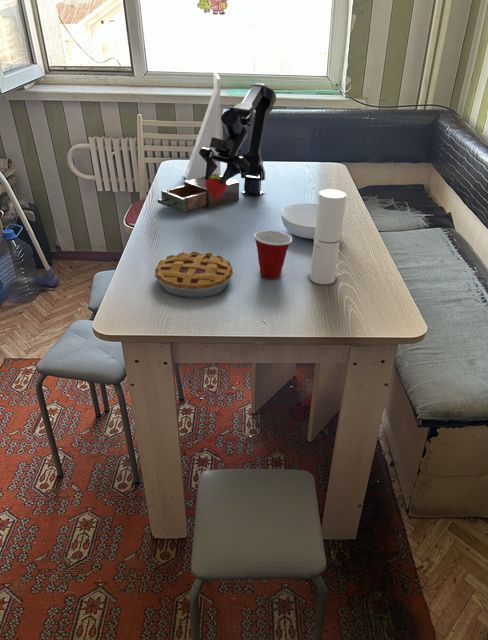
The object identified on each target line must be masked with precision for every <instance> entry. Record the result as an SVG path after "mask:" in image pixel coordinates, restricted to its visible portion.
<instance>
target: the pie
mask: <svg viewBox="0 0 488 640" xmlns="http://www.w3.org/2000/svg"><path fill="white" fill-rule="evenodd" d="M233 269H234V268H233V266H232V265H231V262H230V261H229V260H226V259H225V258H224V257H223V256H222V255H220V254H218V255H214V254H213V252H206V253H201V252H198V251H192V252H190V253H186V252H184V251H183V252H180V253H178V254H177V255H173V254H171V255H167V257H166V259H162V260H160V261H159V262H158V265H156V267H155V270H154V278H155V279H156V280H157V281H158V282H159V284H160V285H161V286H162V288H163V289H164V291H166V292H167V293H169V294H173V295H174V296H181V297H188V298H202V297H203V298H204V297H209V296H213V295H217V294H219V293H220V292H221V291H223V290H224V289H225V287H226V286H227V284H228V283H229V282H230V281H231V279H232V277H233V275H234V274H235V273H234V270H233Z"/></svg>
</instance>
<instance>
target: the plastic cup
mask: <svg viewBox="0 0 488 640" xmlns="http://www.w3.org/2000/svg"><path fill="white" fill-rule="evenodd" d="M253 238H254V239H255V243H256V250H257V260H258V265H259V272H260V276H261V277H263V278H265V279H268V280H276V279H278V278H280V276H281V275H282V270H283V267H284V264H285V260H286V255H287V252H288V249H289V247H290V244H291V243H292V241H293V237H292V236H291V235H289V234H287V233H285V232H282V231H276V230H260V231H257V232H255V233H254V235H253Z"/></svg>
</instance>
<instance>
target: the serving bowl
mask: <svg viewBox="0 0 488 640" xmlns="http://www.w3.org/2000/svg"><path fill="white" fill-rule="evenodd" d="M317 210H318V203H311V202H310V203H306V202H305V203H296V204H291V205H288V206H285V207H284V208H283V209H282V210H281V213H280V214H281V215H280V217H281V222H282V225H283V226H284V228H285V229H286V231H288V232H289V233H290V234H292V235H294V236H296V237H299V238H303V239H307V240H314V237H315V228H316V219H317Z"/></svg>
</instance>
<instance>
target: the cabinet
mask: <svg viewBox="0 0 488 640" xmlns="http://www.w3.org/2000/svg"><path fill="white" fill-rule="evenodd" d="M216 175H218V174H212V175H211V176H216ZM218 176H222V174H220V175H218ZM226 182H227V187H226V190H225V192H224V193H223V195H222V196H221V197H220V198H219V199H218V200H215V199H214V198H213V197H212V195H211V194H210V193H209V192H208V190H207V188H206V185H205V183H206V179H205V176H204V177H201V178H197V179H193V180H189V181H186V182H185V181H184V185H191V186H193V187H196V188H199V189H201V190H204V191H207V200H208V205H205V206H203V207H204V208H206V209H212V208H214V207H217V206H221V205H224V204H227V203H230V202H232V201H236V200H239V199H240V181H239V180H236V179H232V178H230V179H229V180H228V181H226Z"/></svg>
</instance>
